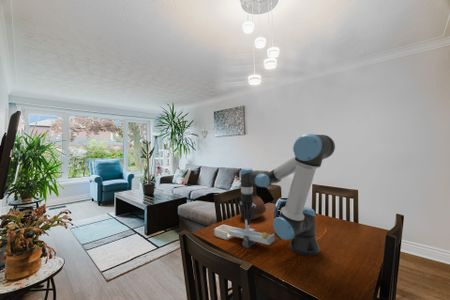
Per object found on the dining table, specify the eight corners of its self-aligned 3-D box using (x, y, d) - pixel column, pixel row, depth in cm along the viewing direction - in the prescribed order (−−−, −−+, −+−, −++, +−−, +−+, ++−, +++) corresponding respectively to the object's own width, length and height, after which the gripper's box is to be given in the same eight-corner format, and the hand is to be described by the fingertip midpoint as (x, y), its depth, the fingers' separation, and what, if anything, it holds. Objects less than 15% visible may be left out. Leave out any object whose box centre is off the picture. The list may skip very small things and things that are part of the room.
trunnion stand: (258, 241, 123) (258, 231, 123) (248, 248, 114) (247, 238, 114) (253, 239, 126) (252, 229, 126) (242, 246, 117) (242, 236, 117)
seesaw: (279, 236, 118) (279, 230, 118) (268, 244, 108) (268, 238, 108) (240, 228, 136) (240, 222, 136) (228, 234, 126) (228, 229, 127)
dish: (236, 234, 133) (235, 228, 133) (226, 240, 126) (226, 232, 126) (223, 230, 140) (223, 224, 140) (214, 235, 133) (213, 228, 133)
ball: (270, 236, 113) (266, 230, 115) (267, 238, 111) (263, 232, 112) (266, 239, 115) (262, 233, 117) (263, 241, 112) (259, 235, 114)
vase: (253, 212, 178) (252, 178, 178) (272, 217, 163) (271, 180, 163) (233, 219, 162) (232, 182, 162) (252, 226, 147) (251, 185, 147)
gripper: (258, 193, 127) (259, 230, 128) (242, 190, 136) (242, 225, 136) (252, 195, 122) (252, 234, 122) (235, 192, 130) (235, 228, 131)
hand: (247, 229), depth 129 cm, fingers closed
